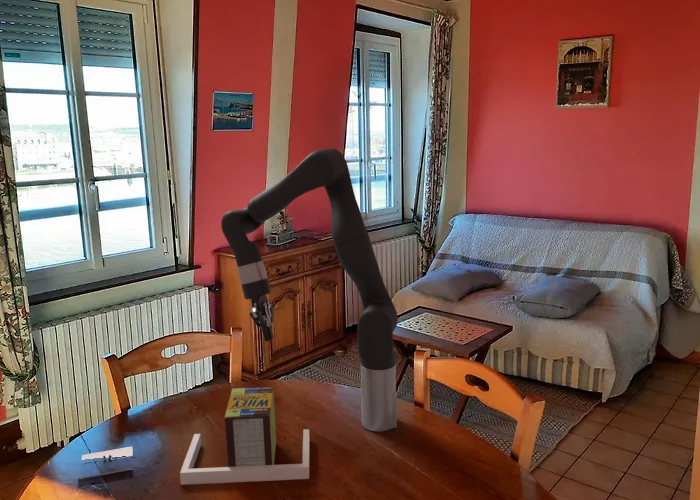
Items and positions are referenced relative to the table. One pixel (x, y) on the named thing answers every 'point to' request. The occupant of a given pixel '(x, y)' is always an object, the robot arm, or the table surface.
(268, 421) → the protein box
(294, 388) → the table surface
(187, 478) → the u-shaped bracket
